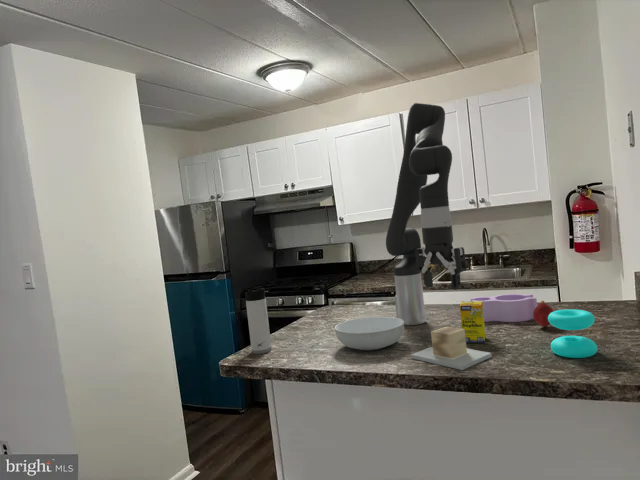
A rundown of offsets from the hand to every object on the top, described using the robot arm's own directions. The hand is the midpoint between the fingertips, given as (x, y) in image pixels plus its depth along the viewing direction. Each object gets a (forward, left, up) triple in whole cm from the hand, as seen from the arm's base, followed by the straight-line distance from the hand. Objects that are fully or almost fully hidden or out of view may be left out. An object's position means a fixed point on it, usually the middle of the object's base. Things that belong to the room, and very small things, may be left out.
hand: (442, 287), depth 116 cm
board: (0, 0, -18) cm, 18 cm away
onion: (+5, +38, -19) cm, 43 cm away
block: (0, 0, -17) cm, 17 cm away
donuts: (+22, +19, -19) cm, 35 cm away
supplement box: (-4, +16, -19) cm, 25 cm away
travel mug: (-52, -27, -18) cm, 61 cm away
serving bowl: (-26, -4, -19) cm, 32 cm away
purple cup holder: (-11, +44, -19) cm, 49 cm away
